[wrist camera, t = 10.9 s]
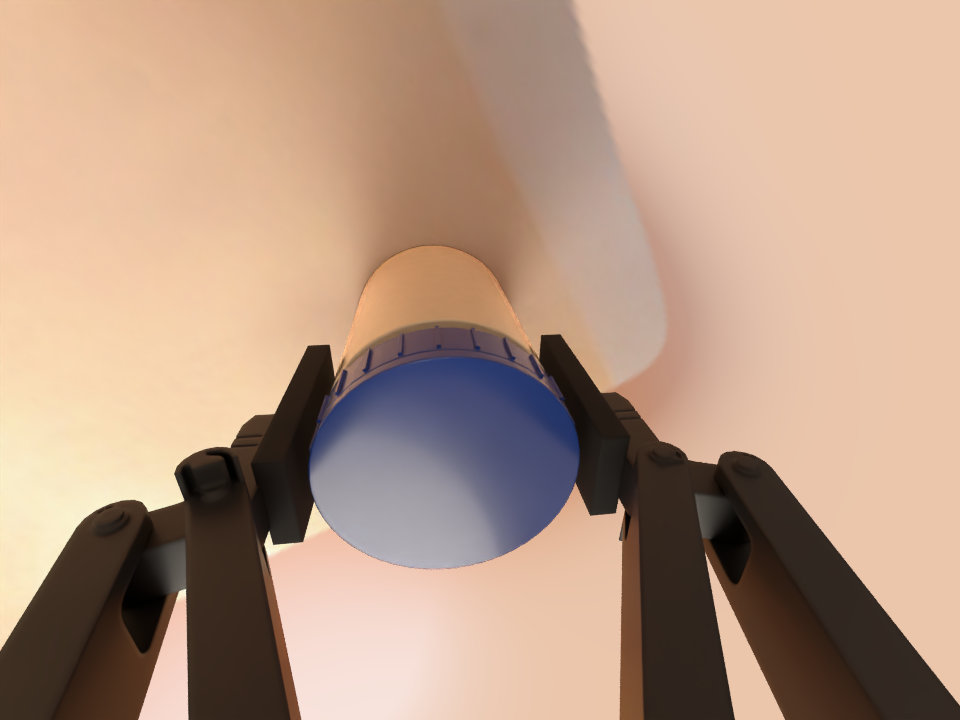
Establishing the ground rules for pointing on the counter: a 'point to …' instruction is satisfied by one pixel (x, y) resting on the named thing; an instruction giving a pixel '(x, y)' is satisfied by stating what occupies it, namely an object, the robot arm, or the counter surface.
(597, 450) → the robot arm
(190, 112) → the counter surface
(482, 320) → the jar
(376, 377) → the jar lid
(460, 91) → the counter surface
